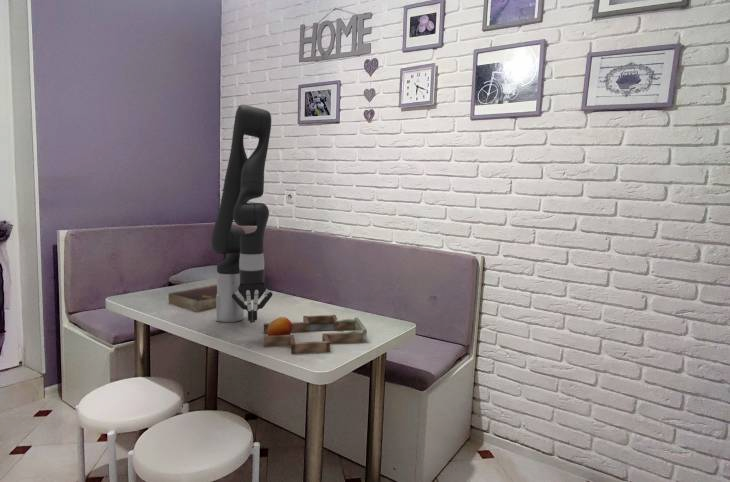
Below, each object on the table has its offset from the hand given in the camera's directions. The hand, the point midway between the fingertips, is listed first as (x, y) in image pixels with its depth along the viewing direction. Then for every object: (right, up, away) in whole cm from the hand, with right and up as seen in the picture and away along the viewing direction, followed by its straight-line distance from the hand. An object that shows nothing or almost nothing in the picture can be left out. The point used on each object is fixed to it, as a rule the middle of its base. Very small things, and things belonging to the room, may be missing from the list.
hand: (252, 321), depth 141 cm
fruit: (+8, -6, +3) cm, 10 cm away
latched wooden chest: (-27, 0, +45) cm, 52 cm away
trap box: (+19, -6, +5) cm, 20 cm away
